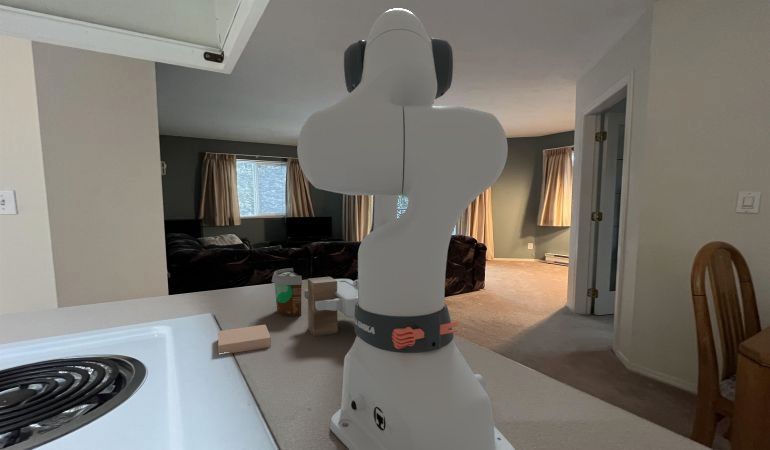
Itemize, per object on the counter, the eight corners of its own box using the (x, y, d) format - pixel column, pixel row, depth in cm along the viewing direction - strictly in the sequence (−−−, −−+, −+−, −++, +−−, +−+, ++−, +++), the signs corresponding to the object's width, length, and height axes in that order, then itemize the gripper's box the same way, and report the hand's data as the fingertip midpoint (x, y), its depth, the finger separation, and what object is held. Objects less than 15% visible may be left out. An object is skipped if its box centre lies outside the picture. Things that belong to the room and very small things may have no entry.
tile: (270, 337, 66) (218, 345, 62) (270, 348, 66) (218, 357, 63) (265, 324, 74) (218, 331, 70) (265, 334, 74) (218, 341, 70)
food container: (269, 306, 92) (268, 269, 92) (293, 304, 95) (292, 267, 94) (275, 320, 81) (275, 278, 81) (302, 317, 84) (302, 276, 83)
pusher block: (337, 332, 74) (337, 281, 73) (314, 336, 72) (313, 283, 71) (330, 325, 78) (330, 276, 78) (308, 328, 76) (307, 278, 75)
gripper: (354, 271, 89) (299, 275, 83) (390, 288, 70) (323, 296, 64) (354, 295, 89) (299, 302, 83) (390, 319, 71) (323, 329, 65)
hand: (310, 299), depth 73 cm, fingers open, 8 cm apart
